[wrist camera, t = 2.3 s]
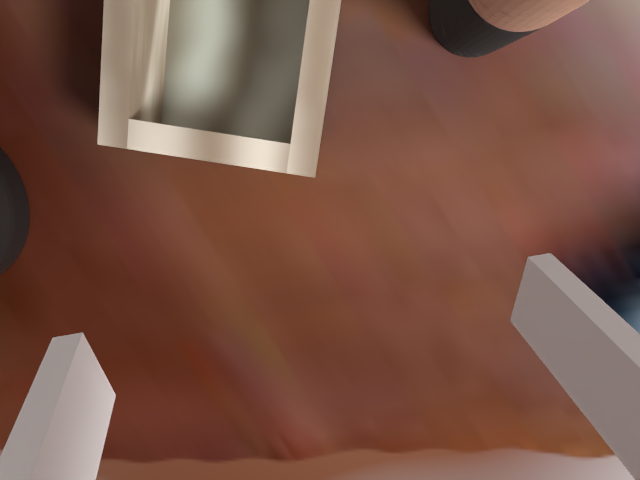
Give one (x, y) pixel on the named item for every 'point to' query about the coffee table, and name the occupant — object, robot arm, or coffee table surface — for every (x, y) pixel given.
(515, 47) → the coffee table surface
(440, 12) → the travel mug
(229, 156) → the well
